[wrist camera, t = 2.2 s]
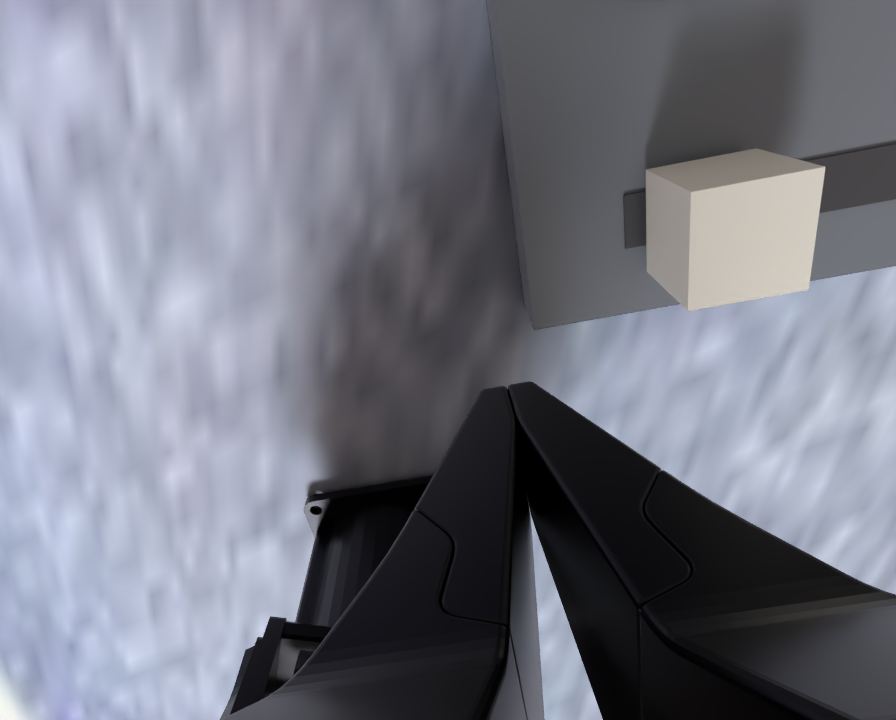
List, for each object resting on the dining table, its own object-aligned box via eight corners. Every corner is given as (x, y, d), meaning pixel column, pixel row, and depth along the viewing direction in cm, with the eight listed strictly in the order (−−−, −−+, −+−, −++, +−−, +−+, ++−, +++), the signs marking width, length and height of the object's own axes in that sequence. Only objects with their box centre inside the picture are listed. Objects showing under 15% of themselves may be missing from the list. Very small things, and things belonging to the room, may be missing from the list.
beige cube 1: (646, 271, 17) (687, 311, 14) (645, 169, 15) (691, 191, 13) (747, 253, 17) (808, 290, 14) (755, 148, 15) (825, 166, 12)
